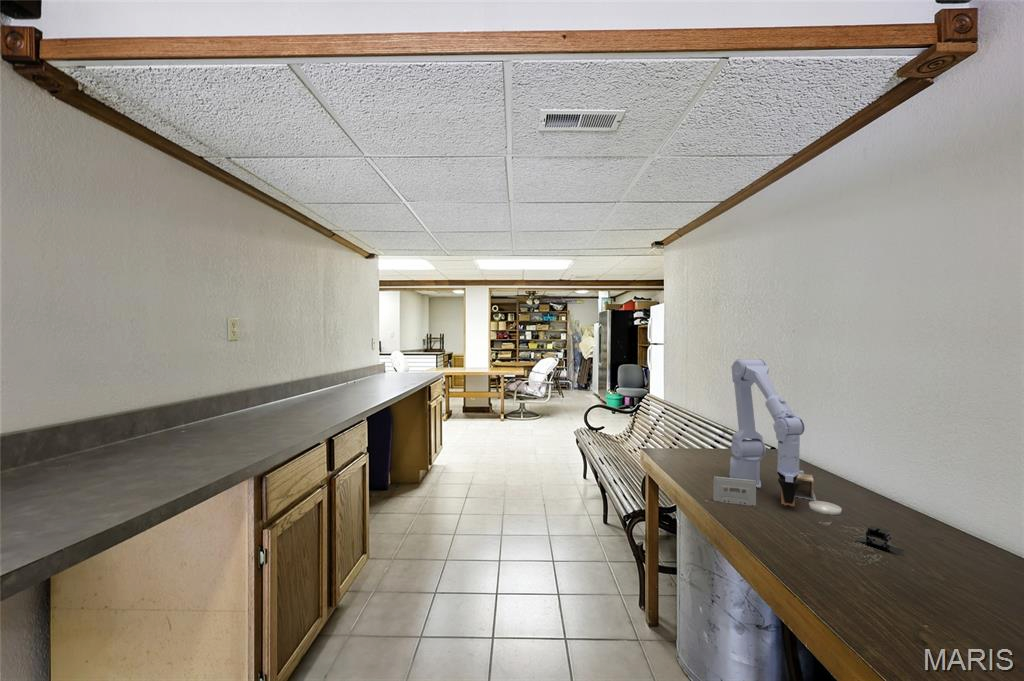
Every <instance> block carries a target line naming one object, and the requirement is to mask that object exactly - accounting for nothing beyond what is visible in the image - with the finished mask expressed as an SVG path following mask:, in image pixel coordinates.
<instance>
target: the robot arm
mask: <svg viewBox="0 0 1024 681" xmlns="http://www.w3.org/2000/svg"><path fill="white" fill-rule="evenodd" d="M769 368H770V367H769V366H768V364H767V362H766V361H765V359H762V358H760V359H759V358H758V359H740V358H739V359H735V360H734V362H733V364H732V365H731V375H732V383H734V394H735V395H734V396H735V403H736V404H735V405H736V406H735V407H736V415H737V424H738V425H737V426H738V431H737V432H735V433H733V435H731V444H730V445H731V446H730V449H731V452H732V455H733V456H730V460H729V461H730V462H729V463H730V466H729V473H728V474H729V477H728V478H736V479H746V480H755V481H756V487H757V488H756V489H760V488H761V487H762V480H760V478H761V477H760V475H761V474H760V473H761V472H760V468H761V467H760V466H761V465H760V464H761V462H760V461H761V460H763V458H764V456H765V455H766V452H767V448H766V444H765V443H764V440H763V439H764V438H763V435H761V434H760V433H759V432H758V431H756V422H755V414H754V412H755V411H754V403H753V395H752V394H753V393H752V392H753V391H752V386H753V385H754V384H755V385H756V386H757V387H758V389H759V391H760V392H761V393H762V395H763V396H764V398H765V399H766V401H765V403H764V404H765V407H766V408H767V410H768V412H769V413H770V415H771V417H772V420H773V421H774V424H772V426H773V430H774V432H775V438H776V440H777V467H776V471H777V473H776V474H778V476H779V477H777V481H778V484H779V486H780V488H782V492H783V498H784V502H785V503H790V504H793V501H794V497H795V493H796V490H797V488H798V487H799V485H800V482H795V480H796V478H797V477H798V475H799V474H805V473H804V470H800V442H801V441H800V436H801V435H803V434H804V432H805V428H806V427H805V423H804V421H803V419H802V418H801V417H800V416H797V415H796V414H795V413H794V412H793V411H792V409H791V408H790V407H789V405H788V403H787V402H786V400H785V398H784V397H783V396H780V395H778V392H777V391H776V389H775V386H774V385H773V383H772V380H771V379H770V376H769V373H770V372H769V370H770V369H769ZM795 498H796V497H795Z"/></svg>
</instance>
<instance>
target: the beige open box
mask: <svg viewBox="0 0 1024 681" xmlns="http://www.w3.org/2000/svg"><path fill="white" fill-rule="evenodd" d="M795 482H800V485H799V487H798V488H797V490H796V492H800V493H807V494H810V496H811V499H813V493H814V487H815V486H814V484H815V483H814V482H815V480H814V478H813V475H812V474H808V473H804V474H799V475H798V477H797V478H796V480H795Z"/></svg>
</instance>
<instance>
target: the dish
mask: <svg viewBox="0 0 1024 681" xmlns="http://www.w3.org/2000/svg"><path fill="white" fill-rule="evenodd" d="M808 508H809V509H810V510H812V511H813V512H816V513H819V514H822V515H823V514H824V515H828V514H829V515H830V516H839V515H841V514H842V507H841V506H839V505H838V504H835V503H832V502H828V501H822V500H816V501H815V500H810V501H809V502H808ZM829 515H828V516H829Z"/></svg>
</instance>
